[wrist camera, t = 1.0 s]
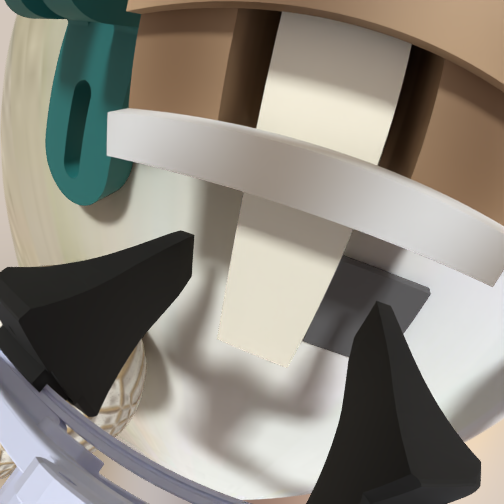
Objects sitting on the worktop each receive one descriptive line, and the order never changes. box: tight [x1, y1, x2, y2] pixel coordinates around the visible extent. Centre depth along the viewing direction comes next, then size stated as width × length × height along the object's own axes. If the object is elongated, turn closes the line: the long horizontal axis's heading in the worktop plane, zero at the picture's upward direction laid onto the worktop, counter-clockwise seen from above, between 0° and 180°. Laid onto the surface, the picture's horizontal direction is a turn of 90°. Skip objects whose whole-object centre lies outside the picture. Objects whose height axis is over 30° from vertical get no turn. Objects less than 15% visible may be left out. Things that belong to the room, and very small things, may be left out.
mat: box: [303, 255, 430, 357], centre depth 14 cm, size 5×6×1 cm
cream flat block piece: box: [217, 12, 412, 368], centre depth 10 cm, size 3×12×6 cm, turn 167°
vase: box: [0, 265, 146, 479], centre depth 16 cm, size 16×16×20 cm
